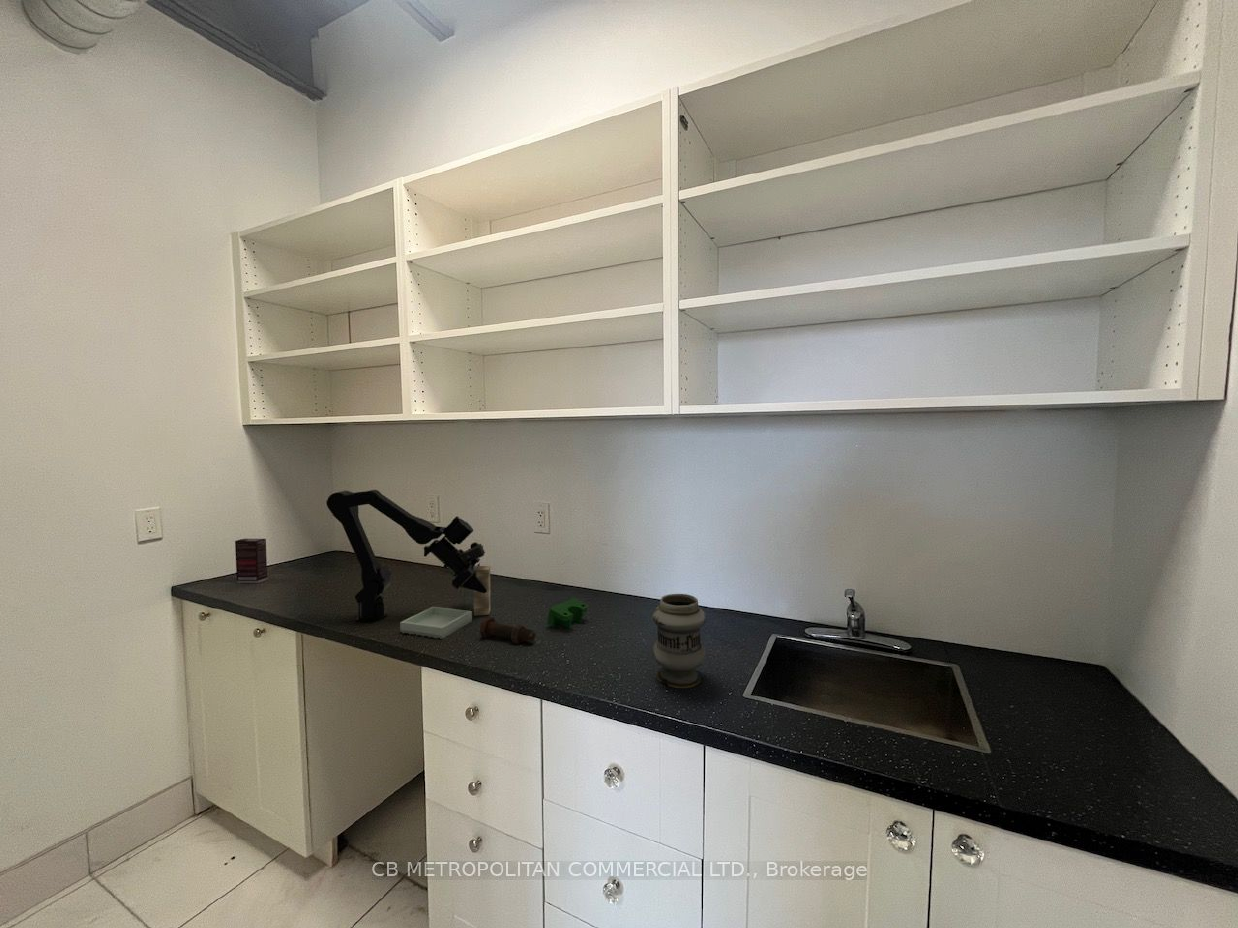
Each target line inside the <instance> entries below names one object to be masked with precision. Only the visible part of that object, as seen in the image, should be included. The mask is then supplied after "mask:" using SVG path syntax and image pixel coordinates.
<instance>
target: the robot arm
mask: <svg viewBox="0 0 1238 928" xmlns="http://www.w3.org/2000/svg"><path fill="white" fill-rule="evenodd" d="M364 505H365V506H366V505H369V506H371V507H372V508H374V509H375V510H377V511H379V512H380V513H381V514H382V515H384V516H386V517H387V518H389V519H390V520H392V521H393V522H394V523H396V524H397V525H399V526H400V527H401V528H402V529H403V530H404V531H405V533H407V536H409V537H410V538H411V539H412V540H413V541H414V542H415V543H416V544H418V545H421V546H422V545H425V546H424V547H423V557H427V556H428V555H429V554H430V553H431V554H433V556H434V557H435V558H436V559H437V560H439V561H440V562H441V563H442V564H443V568H445V569H449V570H450V571H451V572H452V573H453V579H452V581H451V586H452V587H453V588H454V589H455V590H459V588H463V589H468V590H471V591H474V590H475V591H478V592H481V593H486V592H487V590H486V588H485V587H484V586H483V585H482V583H481V582H480V581H479V580H478V578H477V577H476V570H475V571H474V568H475V566H481V564H480V563H479V562H480V561H481V559H480V558H482V557H484V556H485V553H486V551H485V549H484V545H482V543H478V542H476V541H475V542H472V543H471V544H470V548H468V549H467V550H465V551H464V550H463V549H461V548H460V549H458V548H457V547H456V546H455V545H461V544H462V543H463V542H464V541H465V540H467V538H468V537H469V536H470V535H471V534H472V533H473V532H474V528H473V527H472V525H471V524H469V522H467V521H465V520H463V519H462V518H460V517H459V516H455V517H454V518H453V519H452V520H451V522H450V523H449V524H448V525H447V526H436V525H435V524H434V523H432V522H430V521H428V520H426V519H423V518H422V517H418V516H415V515H413V514H411V513H409V511H407V510H405V508H402V507H401V506H400V505H398V504H397V503H396V502H394V501H392V500H391V499H390V498H388V497H386V496H385V495H384V494H383V493H382V492H381V491H379V490H377V489H371V490H366V491H357V492H353V491H350V490H342V491H338V492H334V493H332V494H330V495H329V496H328V498H327V500H326V507H327V509H328V510H329V511H330V513H331V515H332V516H333V517H334V518H335V519H336V520H337V521H338V522H339V523H340V524H341V525H342V528H343V530H344V532H345V534H346V537H347V539H348V541H349V543H350V546H351V549H352V551H353V553H354V555H355V557H356V559H357V561H358V564H359V567H360V568H361V569H360V573H361V574H360V576H361V583H362V588H361V589H360V590H359V591H358V592H357V593H356V594H355V595H354V599H355V601H356V603H357V604H358V605H357V607H358V616H357V617H356V618H354V619H353V621H355V622H356V621H357V622H363V623H369V624H370V623H371V624H372V623H374V621H375V622H376V621H379V620H382V619H383V618H385V617H387V616H388V613H385V602H384V596H382V595H383V594H384V593H385V590H386V589H387V588H388V587H389V586H390V585H391V583H392V578H391V577H392V576H393V574H392V573H391V572H390V570H389V566H388V563H384V564H381V563H380V562H379V561H378V559H377V558H376V555H375V553H374V551H373V549H372V545H371V543H370V541H369V539H368V536H367V534H366V531H365V529H364V527H363V525H362V522H361V520H360V518H359V507H360V506H364ZM443 535H444V536H443ZM441 536H442V538H440V537H441ZM439 538H440V540H439ZM433 540H434V541H433ZM431 541H432V542H431ZM430 542H431V544H429V543H430ZM427 544H429V545H427ZM476 564H477V565H476Z"/></svg>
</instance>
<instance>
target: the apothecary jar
mask: <svg viewBox="0 0 1238 928" xmlns="http://www.w3.org/2000/svg"><path fill="white" fill-rule="evenodd" d="M659 600H660V601H659V604H658V606H657V607H656V608H655V609H653V612H652V619H653V620H652V621H653V622H654V624H655V625H656V626H657V641H656V642H655V643H654V645H653V647H652V651H651V653H652V654H651V655H652V657H653V659H654V661H655V663H657V664H658V665H659V666H660V667H661V668H660V669H659V670H658V671H657V672H656V678H657V680H658V681H659V683H661V684H665V685H667V687H670V688H675V689H690V688H693V687H696V686H698V684H700V682H702V681H701V680H702V677H701V674H700V673H699V672H698V671H697V670H696V669H698V668H699V667H700V666H702V665H703V664H704V663H705V661H706V659H707V650H706V648H705V646H704V645H703V644H702V642H701V628H702V627H703V626H704V625H705V623H706V621H707V620H706V619H707V616H706V613H705V612H704V610H703V609H702V608H701V607H700V606H699V600H698V598H697V597H695V596H693V595H690V594H686V593H670V594H666V595H663V596H661V598H660V599H659Z"/></svg>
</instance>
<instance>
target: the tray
mask: <svg viewBox="0 0 1238 928" xmlns="http://www.w3.org/2000/svg"><path fill="white" fill-rule="evenodd" d="M472 621H473V611H472V610H466V609H465V610H464V609H456V608H449V607H440V606H430V607H428V608H426V609H425V610H423V611H420V612H419V613H416V614H414V615H412V616H410V617H409V618H406V619H404V620H402V621H399V624H400V625H399V627H400V629H399V630H400V631H399V632H402V633H401V634H404V633H409V634H408V635H411V634H416V635H415V636H418V635H421V636H420V637H424V636H428V637H427V638H431V637H433V638H434V639H438V638H440V639H439V640H443V639H445V638H446V636H447V637H448V636H450V635H452V634H453V633H455V632H456V631H458V630H460V629H462V628H463V627H464V626H466V625H469V623H471V622H472ZM433 638H432V639H433Z"/></svg>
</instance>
